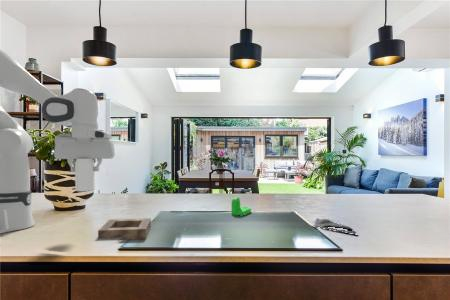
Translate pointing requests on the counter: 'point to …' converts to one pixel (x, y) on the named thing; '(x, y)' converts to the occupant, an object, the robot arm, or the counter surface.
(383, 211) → the counter surface
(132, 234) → the socket block
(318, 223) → the cloth
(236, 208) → the mechanical part
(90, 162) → the can
